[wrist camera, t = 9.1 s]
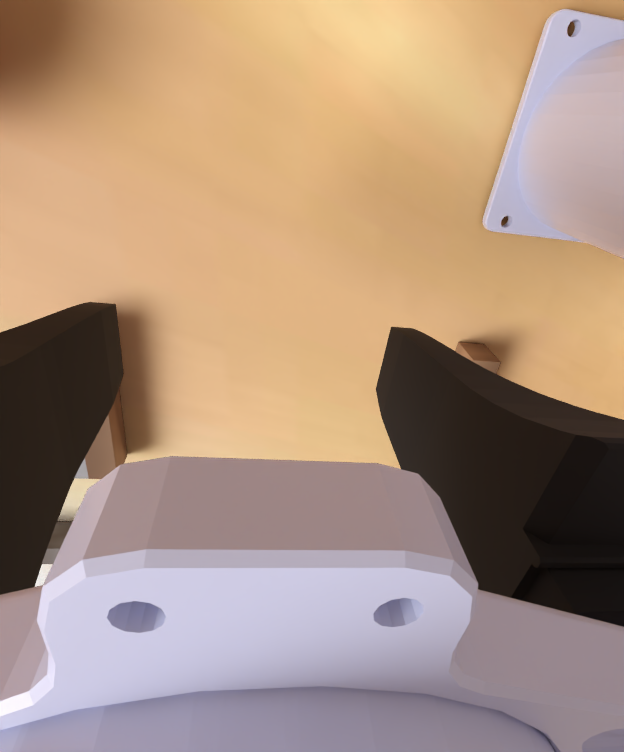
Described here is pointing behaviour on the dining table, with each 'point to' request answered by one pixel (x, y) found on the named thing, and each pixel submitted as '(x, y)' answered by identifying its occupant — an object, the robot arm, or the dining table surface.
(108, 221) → the dining table surface
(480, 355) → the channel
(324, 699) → the robot arm
